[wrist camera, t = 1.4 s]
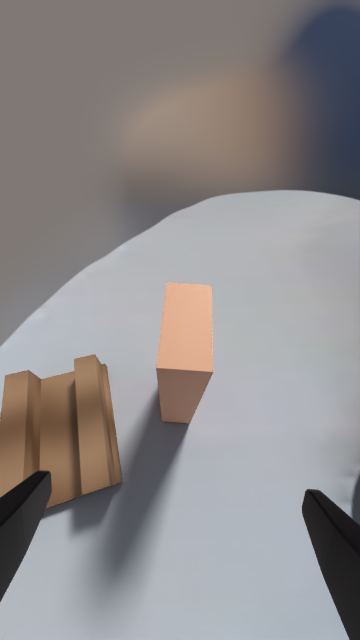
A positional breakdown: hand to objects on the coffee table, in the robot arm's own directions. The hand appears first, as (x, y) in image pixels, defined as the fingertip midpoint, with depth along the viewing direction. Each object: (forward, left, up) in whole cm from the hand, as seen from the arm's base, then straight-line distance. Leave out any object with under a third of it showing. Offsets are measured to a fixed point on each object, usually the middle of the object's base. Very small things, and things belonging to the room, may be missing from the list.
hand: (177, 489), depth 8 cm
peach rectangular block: (+7, 0, -13) cm, 14 cm away
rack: (+3, +9, -13) cm, 16 cm away
